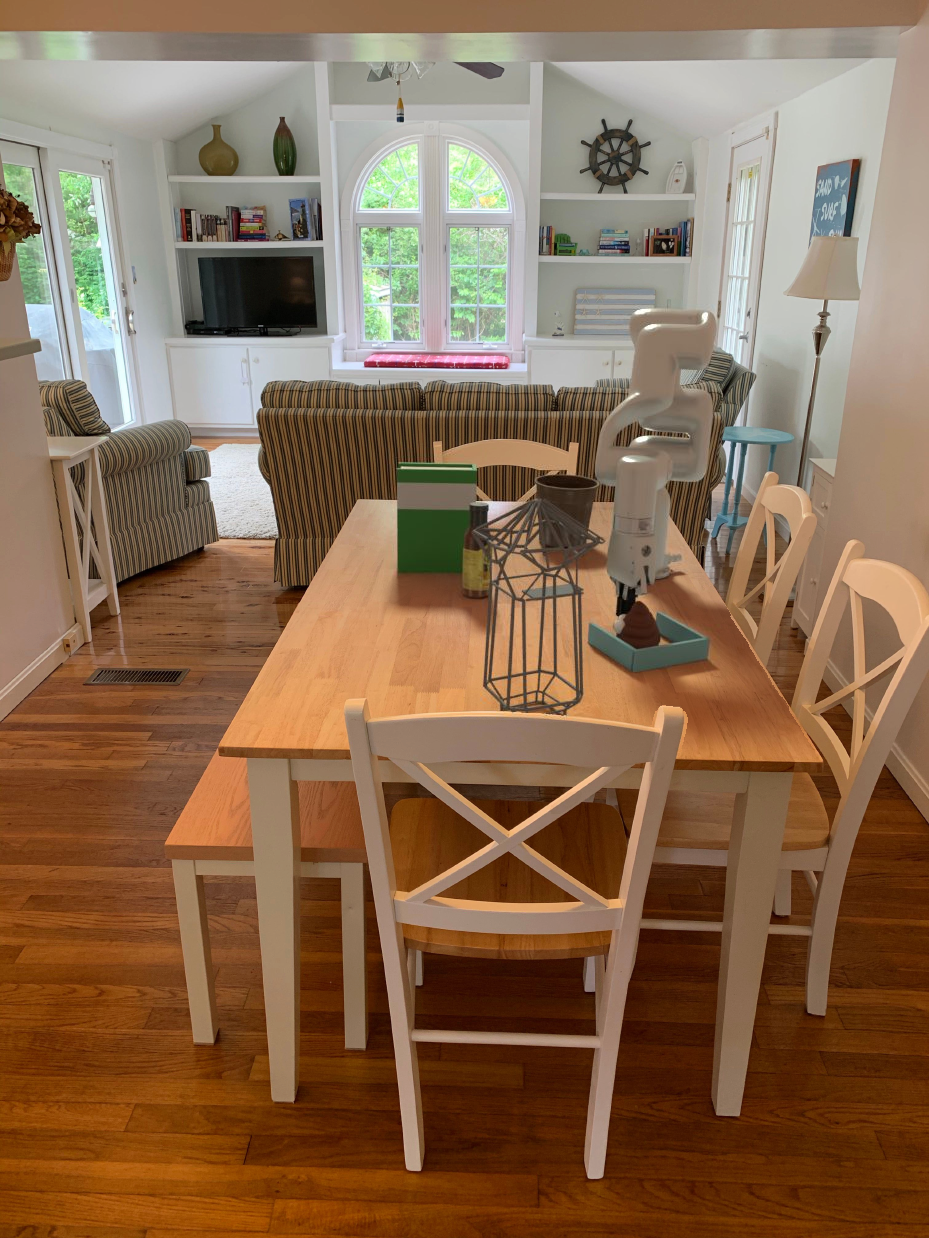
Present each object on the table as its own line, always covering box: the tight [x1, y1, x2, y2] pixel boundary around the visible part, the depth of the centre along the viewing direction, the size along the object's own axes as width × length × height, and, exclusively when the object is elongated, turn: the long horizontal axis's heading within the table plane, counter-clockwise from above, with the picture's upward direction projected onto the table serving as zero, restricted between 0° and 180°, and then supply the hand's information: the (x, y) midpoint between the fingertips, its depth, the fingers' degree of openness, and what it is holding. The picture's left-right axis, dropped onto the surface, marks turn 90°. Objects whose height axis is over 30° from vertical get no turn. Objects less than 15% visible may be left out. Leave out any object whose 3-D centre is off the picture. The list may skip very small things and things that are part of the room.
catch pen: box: [587, 611, 711, 673], centre depth 173 cm, size 16×15×4 cm
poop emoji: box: [612, 600, 662, 649], centre depth 174 cm, size 10×8×9 cm
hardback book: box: [396, 461, 478, 575], centre depth 214 cm, size 18×7×24 cm, turn 91°
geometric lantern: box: [471, 497, 607, 716], centre depth 142 cm, size 16×16×35 cm
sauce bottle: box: [461, 501, 494, 599], centre depth 198 cm, size 7×6×20 cm
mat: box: [521, 583, 584, 598], centre depth 204 cm, size 12×6×1 cm, turn 115°
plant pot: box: [534, 474, 600, 548], centre depth 238 cm, size 16×16×16 cm
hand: (624, 616), depth 179 cm, fingers closed
